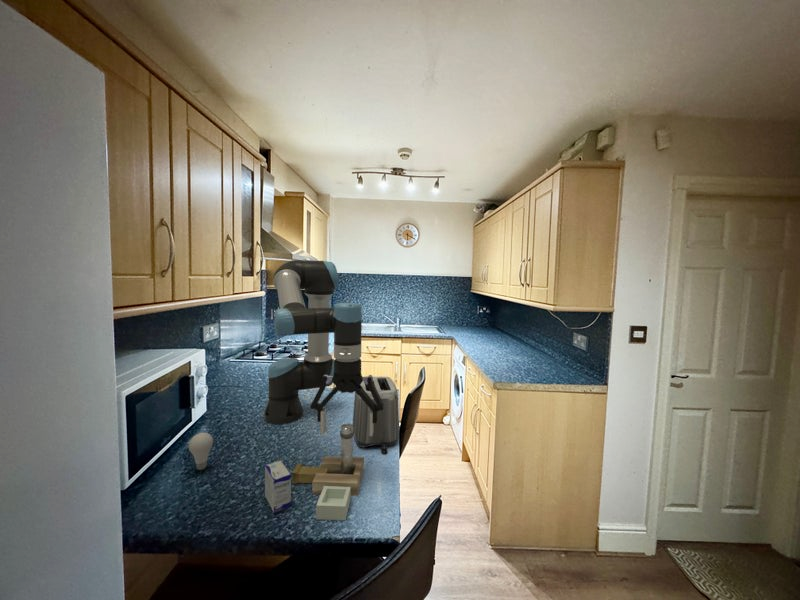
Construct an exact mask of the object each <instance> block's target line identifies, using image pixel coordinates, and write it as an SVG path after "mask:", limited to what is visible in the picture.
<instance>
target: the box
mask: <svg viewBox="0 0 800 600" xmlns="http://www.w3.org/2000/svg"><path fill="white" fill-rule="evenodd" d="M264 497H265V499H266V501H267V503H268V505H269V506H270V508H271V510H272V512H273V514H276V513H279V512H282V511H283V510H285V509H288V508H289V507H291V506H292V473H291V472H290V471H289V469H288V467H287V466H286V464H285V463H284V462H283V460H278V461H274V462H272V463H268V464H266V465H264Z"/></svg>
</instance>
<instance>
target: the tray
mask: <svg viewBox="0 0 800 600" xmlns="http://www.w3.org/2000/svg"><path fill="white" fill-rule="evenodd" d="M351 500H352V496H351V487H338V486H324V487H323V490H322V492H321V495H319V497H318V500H317V503H316V506H315V511H316V512H315V513H316V514H315V519H316V520H321V521H322V520H323V521H324V520H326V521H327V520H328V521H346V520H347V515H348V512H349V508H350V504H351Z"/></svg>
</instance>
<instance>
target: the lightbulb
mask: <svg viewBox="0 0 800 600" xmlns="http://www.w3.org/2000/svg"><path fill="white" fill-rule="evenodd" d="M213 444H214V438H213V436H212V435H211V434H209V433H208V432H199V433H197V434H195V435H194V436H193V437H192V438H191V439H190V441H189V443H188V449H189V452H190V454H191V455H192V456H193V458H194V463H195V466H196V470H198V471H203V470H204V469H206V468H207V464H208V458H209V453H210V451H211V449H212V447H213Z"/></svg>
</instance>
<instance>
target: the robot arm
mask: <svg viewBox="0 0 800 600" xmlns="http://www.w3.org/2000/svg"><path fill="white" fill-rule="evenodd" d="M272 282H273V286H274V288H275V290H276V291H277V297H278V304H279V308H278V309H275V311H274V319H273V320H274V323H273V324H274V333H275V334H276V335H277V336H296V335H307V353H306V354H305V355H304V356H303V361H300V360H299V358H296V357H287V358H282V359H279V360H276V361H274V362H272V363H270V364H269V366H268V374H267V378H268V400H267V403H266V406H265V410H264V411H263V412H264V413H263V420H264V421H265V422H266V423H268V424H271V425H284V424H289V423H293V422H295V421H298V420H299V419H301V418H302V417H303V415H304V408H303V405H302V403H301V400H300V396H299V391H302V390H310V389H311V390H312V389H318V390H317V392H316V394H315V396H314V398H313V400H312V402H311V404H310V406H309V407H310V409H311V410H316V416H317V417H316V421H317V422H318V423H320V435H321V436H324V435H325V433H326V432H327V408H326V407H325V406H326V405H327V404H328V403H329V402H330V400H332V398H333V397H334V396H335V395H336V394H337V393H338V392H341V394H342V393H343V394H345V393H350V394H353V393H355V392H356V393H357V394H358V395H359V396H360V397H361V398H362V400H363V401H364V402H365V403H366V404H367V405H368V407H369V408H370V409H371V411H370V436H372V435H373V423H376V422H377V412H378V411H380V410H383V407H384V404H383V402H382V400H381V398H380V396H379V394H378V392H377V389H376V387H375V385H374V383H373V377H374V376H373V375H372V374H368V375H367V376H363V374H362V359H361V357H362V321H363V314H362V305H361V304H359V303H357V302H339V303H335V304H334V306H332V307H330V305H331V303H330V301H331V298H332V296H333V295H334V291H336V290H338V288H339V275H338V270H337V267H336V265H335V263H333V261H327V260H306V259H305V260H304V259H302V260H301V259H295V260H293V259H292V260H290V261H287V262H285V263H283V264H281V265H280V266H278V268H277V269H276V270H275V271H274V273H273V276H272ZM302 290H304V295H305V296H306V297H307V298H308V301H307V302H308V303H307V304H308V305H307V306H308V308H307V307H306V303H305V300H304V297H303V294H302ZM332 333H333V355H332V354H330V352H329V347H330V346H329V345H330V343H329V342H330V341H329V340H330V337H329V336H330V334H332ZM332 356H333V357H334V358H333V357H332ZM362 381H364V382H365V384H366V385H368V388H369V390H370V392H371V394H372V396H373V398H374V400H375V402H376V404H377V405H376V404H375V403H374V402H373V400H372V399H371V398H370V397H369V396H368V394H367V393H366V392H365V391H364V390H363V388H362V386H361V385H360V384H361V383H362ZM333 384H334V386H335V387H333V389H332V390H331V391H330V392H329V393H328V394H327V395H326V396H325V398H324V399H323V400H322V401H321V402H320V403H319V401H320V399H321V397H322V395H323V393H324V391H325V389H326V388H327V387H330V386H333Z"/></svg>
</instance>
